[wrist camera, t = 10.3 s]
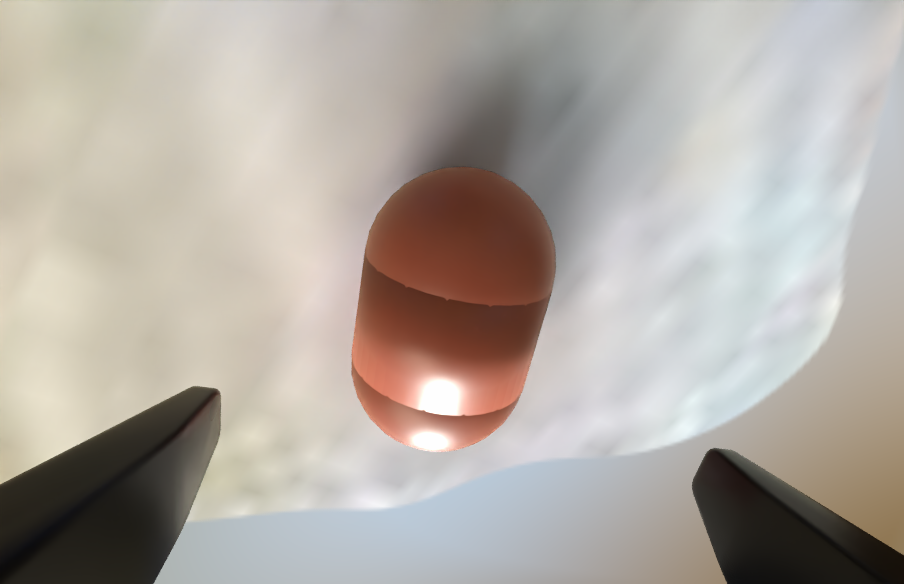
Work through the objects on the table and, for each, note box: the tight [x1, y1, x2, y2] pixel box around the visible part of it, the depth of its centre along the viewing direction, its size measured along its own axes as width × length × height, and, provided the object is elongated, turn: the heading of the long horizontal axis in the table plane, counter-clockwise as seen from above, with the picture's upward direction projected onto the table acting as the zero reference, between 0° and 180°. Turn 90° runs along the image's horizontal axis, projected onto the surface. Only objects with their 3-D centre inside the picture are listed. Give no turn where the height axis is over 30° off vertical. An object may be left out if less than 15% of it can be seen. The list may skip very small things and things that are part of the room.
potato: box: [352, 167, 556, 452], centre depth 13 cm, size 5×8×5 cm, turn 169°
